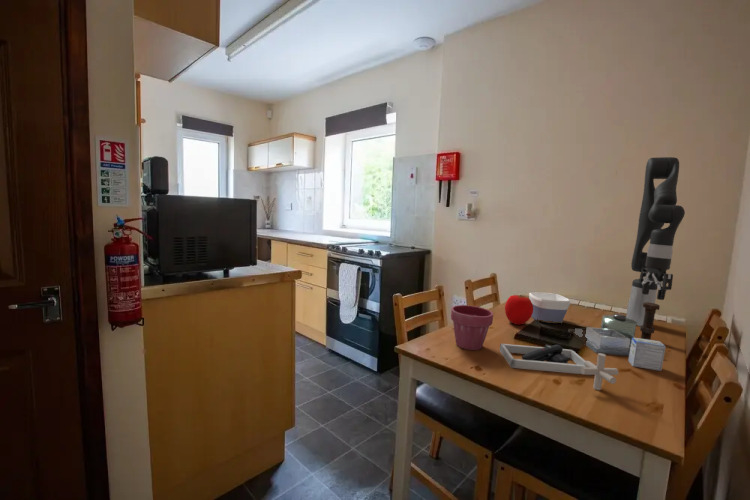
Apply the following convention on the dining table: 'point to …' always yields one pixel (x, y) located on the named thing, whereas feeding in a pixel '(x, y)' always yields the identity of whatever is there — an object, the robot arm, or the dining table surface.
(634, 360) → the medicine box
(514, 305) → the tomato
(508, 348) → the gray parallelogram frame
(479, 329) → the plant pot
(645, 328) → the bolt
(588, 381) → the dining table surface
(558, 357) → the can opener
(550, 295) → the bowl
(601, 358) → the pipe connector
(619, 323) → the motor mount
